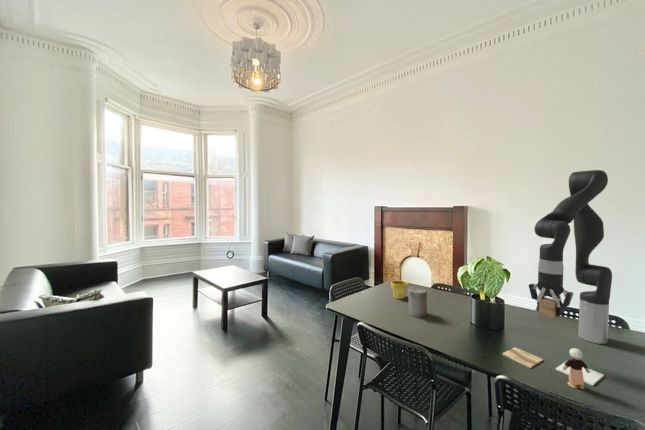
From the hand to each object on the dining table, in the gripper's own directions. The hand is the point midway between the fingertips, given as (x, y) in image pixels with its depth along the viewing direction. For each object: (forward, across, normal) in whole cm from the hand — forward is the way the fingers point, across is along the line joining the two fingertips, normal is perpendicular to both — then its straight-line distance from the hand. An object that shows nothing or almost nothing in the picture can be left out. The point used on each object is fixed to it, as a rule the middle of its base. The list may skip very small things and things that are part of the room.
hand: (549, 313), depth 107 cm
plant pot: (+18, +79, +2) cm, 81 cm away
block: (+1, 0, 0) cm, 1 cm away
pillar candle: (+18, +55, +12) cm, 59 cm away
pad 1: (+18, +5, +10) cm, 21 cm away
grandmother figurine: (+18, -12, +13) cm, 25 cm away
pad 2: (+18, -10, +3) cm, 21 cm away
